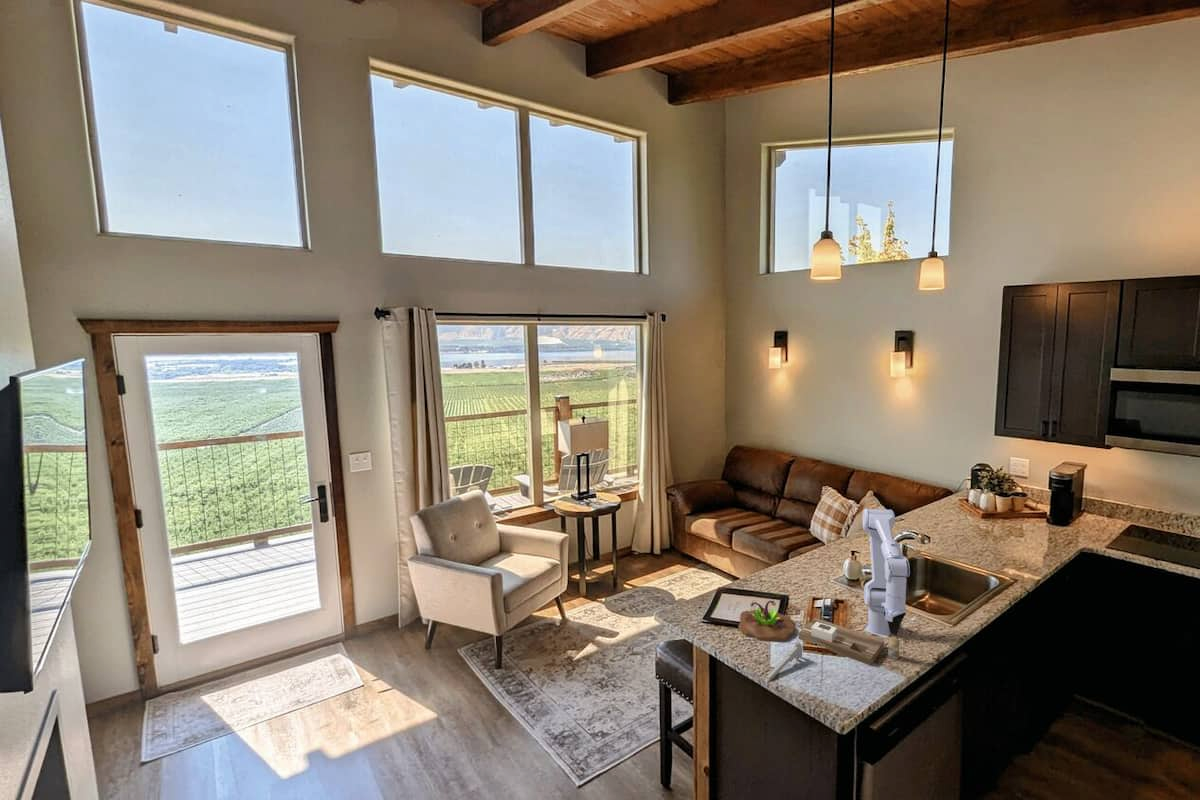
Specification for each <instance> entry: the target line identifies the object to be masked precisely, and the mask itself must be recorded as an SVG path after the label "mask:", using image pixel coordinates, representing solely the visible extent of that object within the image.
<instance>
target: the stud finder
mask: <svg viewBox="0 0 1200 800" xmlns="http://www.w3.org/2000/svg"><path fill="white" fill-rule="evenodd" d="M811 636H814V637H817V638H820V639H823V640H826V641H829V642H832V641H833V640H834V639H835V638H836V636H837V628H835V627H832V626H829V625H826V624H823V623H819V622H816V623H815V624H814V625H813V626H812V627H811Z"/></svg>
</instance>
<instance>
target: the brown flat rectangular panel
mask: <svg viewBox="0 0 1200 800" xmlns="http://www.w3.org/2000/svg"><path fill="white" fill-rule="evenodd" d="M816 622H819V623H823V624H826V625H829V626H832V627H835V628H837V636H836V638H835V639H834V640H833V641H832V642H829V641H826V640H823V639H820V638H817V637H814V636H811V627H812V626H813V625H814V624H815V623H816ZM798 640H801V641H803V642H806V643H808V642H809V644H811V643H813V644H812V645H814V644H817V645H820V646H823V647H825V648H827V649H829V650H828V651H830V650H831V651H830V652H832V651H833V652H832V653H835V654H838V655H840V656H843V657H846V658H849V659H851V660H854V661H857V662H860V663H863V664H864V665H867V666H872V664H873V663H874V662H875V661H876V660H877V658H878V657H879V655H880V654H881V652H882V651H883V650H884V649H885V640H884V639H880V638H877V637H875V636H871V635H869V634H865V633H862V632H861V631H860V632H859V631H857V630H854V629H851V628H848V627H844V626H841V625H838V624H836V623H832V622H829V621H827V620H823V619H821V618H817V617H813V619H812V620H811V621H810V622H808V623H807V624H806V625H805V626H804V628H802V629H801V630H800V631H799V632H798ZM827 649H826V650H827Z"/></svg>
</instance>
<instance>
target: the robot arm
mask: <svg viewBox="0 0 1200 800" xmlns="http://www.w3.org/2000/svg"><path fill="white" fill-rule="evenodd" d="M861 518H862V529H863V531H864V532H866V533H867V534H868V539H869V549H870V550H869V551H870V565H871V566H870V567H871V579H870V580H869V581H867V582H866V583H865V584H864V586H863V587H864V588H863V589H864V590H863V602H864V604H865V606H866V607H868V613H867V615H868V617H867V625H866V626H865V628H864V629H863V631H864V632H867V633H871V634H873V635H874V634H875V635H876V636H880V637H883V638H886V639H887V638H888V637H889V638H890V635H896V636H898V634H899V631H900V627H901V625H902V622H903V620H904V618H905V617H906V610H907V609H906V608H907V607H906V598H907V597H906V596H907V578H909V577H910V574H911V570H910V569H911V568H910V562H909V560H908V558H906V556H905V555H903V551H902V549H901V547H900V544H899V543H898V542H897V540H895V539H894V532H893V529H894V526H895V524H896V515H895V512H894V511H893V510H892V509H876V508H874V509H873V508H864V509H863V510H862V517H861ZM889 638H888V639H889Z"/></svg>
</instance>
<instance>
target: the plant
mask: <svg viewBox="0 0 1200 800" xmlns="http://www.w3.org/2000/svg"><path fill="white" fill-rule="evenodd" d="M770 604H771V605H772V606H776V604H777V603H776V601H774V600H769V601H767V602H766V603H765V605H764V607H763V605H761V604H760V603H758V602H751V603H750V604H749V605H750V607H751V608H752V607H754V605H757V606H758V607H757V608H756V609H753V610H745V611H742V612H741V613H740V614H739V620H740V622H739V624H738V625H737V626H738V627H737V628H738V630H739V631H741V632H740V633H741V634H742V635H744V636H745V637H750V638H754V639H756V640H758V641H762V642H763V641H765V642H779V643H780V642H781V643H784V642H785V643H786V642H787V641H788V640H789V639H791V638H793V637H794V636H795V631H796V629H795V628H796V626H795V624H794V623H793V622H792V619H791V617H789V616H787V615H785V614H781V613H779V612H777V610H776V609H771V610H770V611H769V605H770Z"/></svg>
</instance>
